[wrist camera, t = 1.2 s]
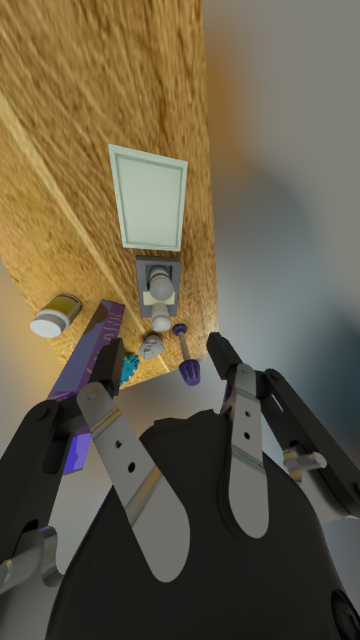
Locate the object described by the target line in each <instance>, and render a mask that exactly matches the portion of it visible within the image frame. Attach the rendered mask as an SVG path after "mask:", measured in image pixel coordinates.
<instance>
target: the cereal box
mask: <svg viewBox="0 0 360 640" xmlns="http://www.w3.org/2000/svg"><path fill="white" fill-rule="evenodd" d="M124 308H125V305H122V304H118V303H115V302H111V301H107V300H103V299H102V301H101V303H100V305H99V306H98V308H97V310H96V312H95V314H94V315H93V317H92V319H91V321H90V322H89V324H88V326H87V328H86V330H85V331H84V333H83V335H82V337H81V338H80V340H79V342H78V344H77V346H76V347H75V349H74V351H73V353H72V354H71V356H70V358H69V360H68V362H67V363H66V365H65V367H64V369H63V371H62V372H61V374H60V376H59V378H58V380H57V381H56V383H55V385H54V386H53V388H52V390H51V392H50V394H49V395H48V397H47V399H46V400H49V399H54V400H56V401H57V402H58V401H61V400H63V399H66V398H68V397H70V396H73V395H75V394H77V393H78V392H79V391H80V390H81V389H82V388H83V387H84V386H86V385H87V383H88V381H89V378H90V375H91V373H92V370H93V367H94V365H95V362H96V359H97V357H98V354H99V351H100V350H101V348H102V347H103V346H104V345H109V344H110V341H111V338H117V335H118V331H119V327H120V323H121V319H122V315H123V311H124ZM90 439H91V431H90V429H89V427H88V425H86V426H84V427H82V428H80V429H79V430H77V431H75V433H74V437H73V440H72V444H71V447H70V450H69V454H68V457H67V461H66V464H65V468H64V471H63V474H62V475H67V474H71V473H74V472H76V471H79V470H82V469H83V466H84V462H85V458H86V455H87V451H88V447H89V443H90Z"/></svg>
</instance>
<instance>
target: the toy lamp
mask: <svg viewBox="0 0 360 640" xmlns="http://www.w3.org/2000/svg"><path fill="white" fill-rule="evenodd" d="M173 333H174V334H175V335H177V336H179V341H180V345H181V350H182V354H183V359H184V362H182V363H181V364H180V366H179V371H180V373H181V375H182V377H183V379H184V381H185V383H186V384H187V385H188V386H195V385H197V384H198V383H199V382H200V365H199V362H198V361H197V360H194V359H190V355H189V351H188V347H187V345H186V340H185V337H184V334H185V333H186V326H185V325H184V324H177V325H175V326H174V327H173Z"/></svg>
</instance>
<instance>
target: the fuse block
mask: <svg viewBox="0 0 360 640" xmlns="http://www.w3.org/2000/svg"><path fill="white" fill-rule="evenodd" d="M153 265H163V266H164V267H165V268H166V270H167V273H168V276H169V278H170V280H171V282H172V285H173V288H174V292H173V295H172V296H171V297H170V298H169V299H168V300H165V301H158V300H156V299H154V298H153V297H152V295H151V293H150V275H149V271H150V268H151V267H152V266H153ZM136 270H137V279H138V289H139V299H140V309H141V318H142V317H151V319H152V322H151V325H152V329H153V330H154V331H156V332H165V331H167V330H169V329H170V327H171V320H170V317H169V316H176V314H177V304H178V294H179V283H180V273H181V261H180V260H179V259H178V258H174V257H158V256H142V255H137V257H136Z"/></svg>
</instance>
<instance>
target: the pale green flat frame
mask: <svg viewBox="0 0 360 640" xmlns="http://www.w3.org/2000/svg"><path fill="white" fill-rule="evenodd" d="M108 148H109V155H110V161H111V168H112V175H113V182H114V189H115V195H116V202H117V209H118V216H119V223H120V230H121V236H122V243H123V247H127V248H141V249H154V250H168V251H180V247H181V235H182V224H183V212H184V201H185V189H186V177H187V166H188V162H186V161H182V160H177V159H173V158H169V157H164V156H160V155H156V154H151V153H147V152H143V151H138V150H134V149H130V148H125V147H121V146H117V145H113V144H108Z"/></svg>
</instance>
